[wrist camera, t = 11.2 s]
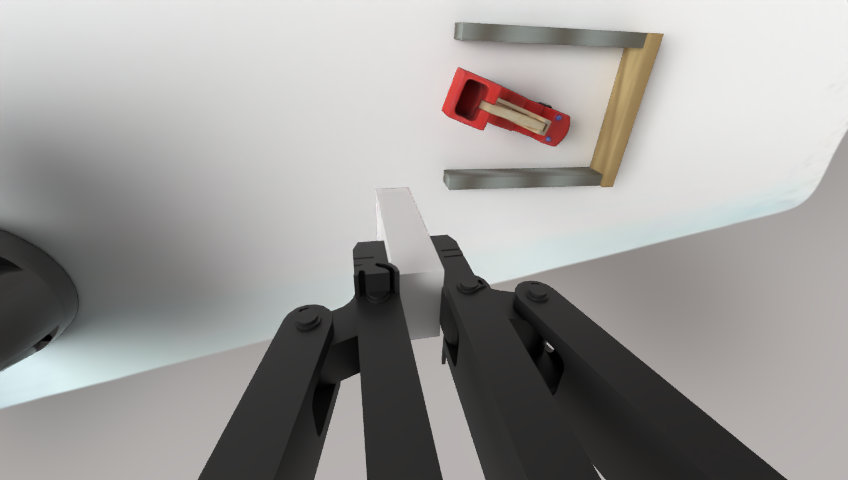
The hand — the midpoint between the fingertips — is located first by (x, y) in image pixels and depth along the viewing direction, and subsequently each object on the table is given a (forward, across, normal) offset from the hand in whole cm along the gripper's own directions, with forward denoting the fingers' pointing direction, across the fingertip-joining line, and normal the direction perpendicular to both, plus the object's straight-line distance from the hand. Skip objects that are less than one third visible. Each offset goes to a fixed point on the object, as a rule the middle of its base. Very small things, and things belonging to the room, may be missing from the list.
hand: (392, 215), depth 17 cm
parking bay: (+20, +16, +1) cm, 26 cm away
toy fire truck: (+20, +12, +2) cm, 24 cm away
